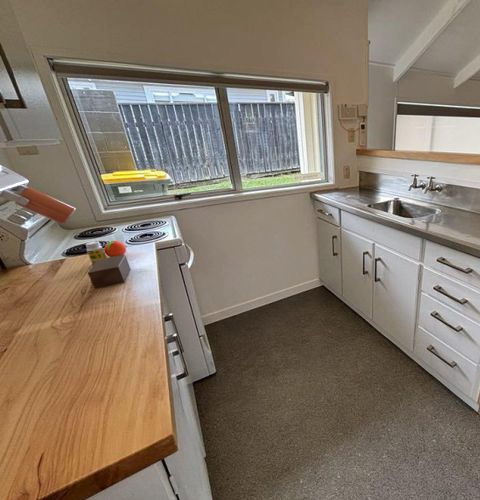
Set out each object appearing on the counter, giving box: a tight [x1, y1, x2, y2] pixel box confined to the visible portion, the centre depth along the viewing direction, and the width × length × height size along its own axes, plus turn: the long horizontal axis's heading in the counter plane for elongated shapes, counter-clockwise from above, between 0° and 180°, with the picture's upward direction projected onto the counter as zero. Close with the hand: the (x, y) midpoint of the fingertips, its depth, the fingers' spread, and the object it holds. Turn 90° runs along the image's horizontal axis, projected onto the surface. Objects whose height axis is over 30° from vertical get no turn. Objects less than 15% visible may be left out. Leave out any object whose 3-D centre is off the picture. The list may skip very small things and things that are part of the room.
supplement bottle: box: [85, 240, 107, 265], centre depth 111 cm, size 5×5×8 cm
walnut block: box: [87, 254, 131, 290], centre depth 97 cm, size 8×12×6 cm, turn 28°
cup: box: [14, 186, 77, 225], centre depth 85 cm, size 11×6×6 cm
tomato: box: [103, 240, 127, 258], centre depth 115 cm, size 8×7×7 cm
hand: (33, 200), depth 83 cm, fingers closed on cup, 6 cm apart
